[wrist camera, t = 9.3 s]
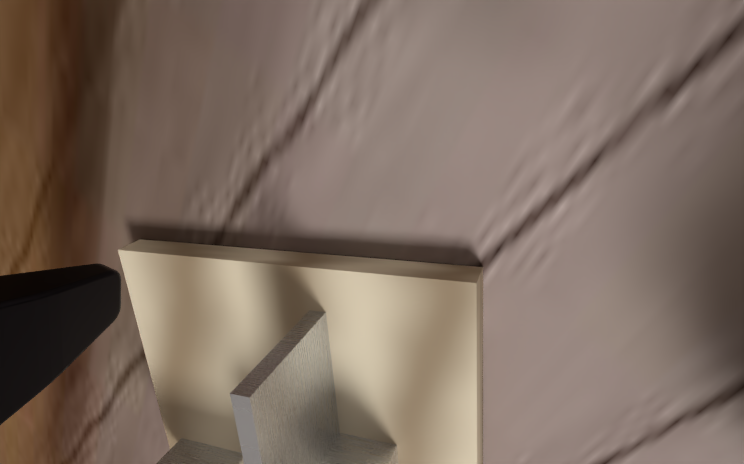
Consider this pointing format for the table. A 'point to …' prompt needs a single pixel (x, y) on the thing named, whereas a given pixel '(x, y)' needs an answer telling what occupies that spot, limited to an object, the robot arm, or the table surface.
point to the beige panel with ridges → (309, 355)
